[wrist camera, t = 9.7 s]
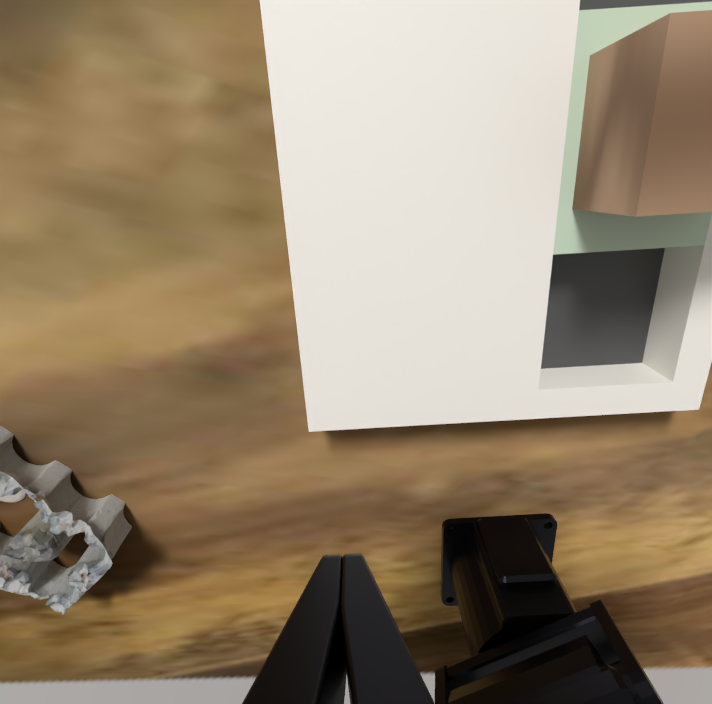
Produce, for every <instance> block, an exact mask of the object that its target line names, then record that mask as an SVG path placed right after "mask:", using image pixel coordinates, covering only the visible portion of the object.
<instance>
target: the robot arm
mask: <svg viewBox="0 0 712 704" xmlns="http://www.w3.org/2000/svg"><path fill="white" fill-rule="evenodd" d="M547 522H548V523H547ZM545 523H547V524H545ZM451 527H454V528H453V529H449V528H451ZM556 529H557V522H556V520H555V519H554V517H553V516H552V515H550V514H531V515H513V516H494V517H476V518H457V519H448V520H446V521H444V522H443V524H442V551H441V598H442V602H443V604H445V605H448V606H453V605H458V607H459V611H460V615H461V619H462V623H463V627H464V630H465V634H466V638H467V642H468V646H469V650H470V654H471V657H469V658H467V659H465V660H462V661H460V662H458V663H455V664H453V665H450V666H448V667H447V666H446V665H445V666H443V667H440V668H438V669H436V670H435V704H663V702H662V700H661V698H660V697H659V695H658V694H657V692H656V690H655V688H654V687H653V685H652V683H651V682H650V680H649V678H648V677H647V675H646V673H645V672H644V670H643V668H642V667H641V665H640V663H639V662H638V660H637V658H636V657H635V655H634V654H633V652H632V650H631V649H630V647H629V645H628V644H627V642H626V641H625V639H624V637H623V636H622V634H621V632H620V631H619V629H618V628H617V626H616V624H615V623H614V621H613V619H612V618H611V616H610V615H609V613H608V611H607V610H606V608H605V606H604V605H603V603H602V602H601V600H597V601H595V602H593V603H590V606H589V607H587V608H585V609H582V610H580V611H578V612H577V611H576V609H575V607H574V605H573V603H572V601H571V600H570V598H569V596H568V594H567V592H566V590H565V588H564V586H563V584H562V582H561V581H560V579H559V577H558V575H557V573H556V571H555V569H554V567H553V565H552V557H553V550H554V543H555V536H556ZM346 667H347V677H348V686H349V695H350V704H434V702H433V699H432V697H431V695H430V693H429V691H428V689H427V687H426V685H425V683H424V681H423V679H422V677H421V675H420V673H419V670H418V668H417V666H416V664H415V662H414V660H413V658H412V656H411V654H410V652H409V650H408V648H407V646H406V644H405V642H404V639H403V637H402V635H401V633H400V631H399V629H398V627H397V625H396V623H395V621H394V619H393V617H392V615H391V613H390V610H389V608H388V606H387V604H386V602H385V600H384V598H383V596H382V594H381V592H380V590H379V588H378V586H377V584H376V581H375V579H374V577H373V575H372V573H371V571H370V569H369V567H368V565H367V563H366V561H365V559H364V557H363V555H362V554H345V555H344V556H343V558H342V556H341V555H325V556H323V557H322V559H321V560H320V562H319V564H318V566H317V567H316V569H315V571H314V573H313V575H312V577H311V578H310V580H309V582H308V584H307V586H306V588H305V589H304V591H303V593H302V595H301V597H300V599H299V600H298V602H297V604H296V606H295V608H294V610H293V611H292V613H291V615H290V617H289V619H288V621H287V622H286V624H285V626H284V628H283V630H282V632H281V633H280V635H279V637H278V639H277V641H276V643H275V644H274V646H273V648H272V650H271V652H270V654H269V655H268V657H267V659H266V661H265V663H264V665H263V666H262V668H261V670H260V672H259V674H258V676H257V677H256V679H255V681H254V683H253V685H252V687H251V688H250V690H249V692H248V694H247V696H246V698H245V699H244V701H243V703H242V704H344V696H345V684H346Z"/></svg>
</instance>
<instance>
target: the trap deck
mask: <svg viewBox="0 0 712 704" xmlns="http://www.w3.org/2000/svg"><path fill="white" fill-rule="evenodd" d="M260 6H261V15H262V24H263V33H264V41H265V50H266V59H267V68H268V77H269V85H270V94H271V103H272V112H273V121H274V129H275V138H276V147H277V156H278V165H279V173H280V182H281V191H282V200H283V209H284V217H285V226H286V235H287V244H288V253H289V261H290V270H291V279H292V288H293V297H294V305H295V314H296V323H297V332H298V341H299V349H300V358H301V367H302V376H303V384H304V393H305V402H306V411H307V420H308V428H309V432H312V431H329V430H347V429H364V428H382V427H400V426H417V425H435V424H453V423H470V422H488V421H506V420H523V419H541V418H559V417H576V416H594V415H611V414H629V413H647V412H664V411H682V410H699V407H700V404H701V400H702V396H703V392H704V388H705V384H706V381H707V377H708V373H709V369H710V365H711V362H712V212H701V213H685V214H670V215H655V216H639V217H635V216H626V215H618V214H610V213H601V212H593V211H585V210H576V209H572V207H573V198H574V189H575V181H576V172H577V163H578V155H579V146H580V137H581V128H582V120H583V111H584V102H585V94H586V85H587V76H588V68H589V59H590V55H592V54H594V53H596V52H598V51H599V50H601V49H603V48H605V47H607V46H609V45H611V44H613V43H615V42H616V41H618V40H620V39H622V38H624V37H626V36H628V35H630V34H632V33H633V32H635V31H637V30H639V29H641V28H643V27H645V26H647V25H649V24H650V23H652V22H654V21H656V20H658V19H660V18H662V17H664V16H666V15H667V14H669V13H677V12H691V11H705V10H712V0H260Z"/></svg>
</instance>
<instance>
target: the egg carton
mask: <svg viewBox="0 0 712 704" xmlns="http://www.w3.org/2000/svg"><path fill="white" fill-rule="evenodd" d="M13 436H14V435H13V434H12V433H11V432H10V431H8V430H6V429H5V428H3V427H1V426H0V501H4V502H11V503H13V502H18V501H21V500H22V499H24V498H25V496H26V494H27V495H28V496H29V497H30V498H31V499H33V500H34V501H35V504H34V506H35V507H36V508H38V509H40V510H39V512H38V513H37V514H36V515H35V516H34V517H33V518H32V519H31V520H30V521H29V522H28V523H27V524H26V525H25V526H24V527H23V528H22V529H21V530H20V531H19V532H18V533H17V534H16V535H15V536H14V537H11V536H8V535H6V534H3V533H1V532H0V589H1V590H5V591H9V592H12V593H16V594H20V595H31V596H32V597H33V598H35V599H47V598H48V600H47V602H46V604H45V605H49V606H50V607H51V608H52V609H53V610H55V611H57V612H62V615H63V614H64V613H65V612H66V611H67V610H68V608H69V607H70V606H71V605H72V604H74V603H75V602H76V601H77V600H78V599H79V598H80V597H81V596H82V595H83V594H84V593H85V592H86V591H88V590H89V589H90V588H91V587H92V586H93V585H94V584H95V583H96V582H97V581H98V580H99V579H100V578H101V577H102V576H103V575H104V574H105V573H106V572H107V570H108V569H110V567H111V565H112V564H113V563H112V561H111V559H112V558H113V557H114V556H115V554H116V552H117V550H118V549H119V547H120V545H121V544H122V542H123V541H124V539H125V538H126V536H127V534H128V533H129V532H130V530H131V528H132V526H131V525H130V524H129V523H128V522H127V520H126V519H125V517H124V515H123V509H124V506H125V502H124V501H122V500H120V499H119V498H117V497H115V496H114V495H112V494H111V495H108V496H106V497H104V498H100V499H90V498H87V497H84V496H83V495H81V494H79V493H78V492H77V491H76V490H75V489H74V488H73V486H72V484H71V481H70V475H71V473H72V470H71V469H70V468H68V467H67V466H65V465H63V464H62V463H60V462H58V461H53V462H51V463H49V464H47V465H34V464H30V463H28V462H26V461H24V460H22V459H21V458H20V457H19V456H18V455H17V454H16V452H15V451H14V449H13V445H12V439H13ZM37 496H38V497H40V498H41V499H42V500H41V501H39V502H37V501H36V500H35V499H36V498H37ZM0 527H1V524H0ZM80 532H85V538H84V541H85V542H86V543H87V544H88V545H89V547H88V548H87V550H86V551H85V553H84V554H83V555H82V557H81V558H80V559H79V561H78V562H77V564H76V565H74V566H72V567H69V568H66V567H63V566H61V565H59V564H57V563H56V562H54V561H53V560H52V559H54V558H56V557H57V556H58V555H59V554H60V553H61V551H62V550H63V549H64V548H65V547H66V545H67V544H68V543H69V541H70V540H71V539H72V538H73V536H74V535H75V534H77V533H80Z"/></svg>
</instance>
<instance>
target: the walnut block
mask: <svg viewBox="0 0 712 704" xmlns="http://www.w3.org/2000/svg"><path fill="white" fill-rule="evenodd" d="M572 209H576V210H585V211H593V212H601V213H610V214H618V215H626V216H635V217H639V216H655V215H670V214H685V213H701V212H712V10H705V11H691V12H677V13H669V14H667V15H666V16H664V17H662V18H660V19H658V20H656V21H654V22H652V23H650V24H649V25H647V26H645V27H643V28H641V29H639V30H637V31H635V32H633V33H632V34H630V35H628V36H626V37H624V38H622V39H620V40H618V41H616V42H615V43H613V44H611V45H609V46H607V47H605V48H603V49H601V50H599V51H598V52H596V53H594V54H592V55H590V59H589V68H588V76H587V85H586V94H585V102H584V111H583V120H582V128H581V137H580V146H579V155H578V163H577V172H576V181H575V189H574V198H573V207H572Z"/></svg>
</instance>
